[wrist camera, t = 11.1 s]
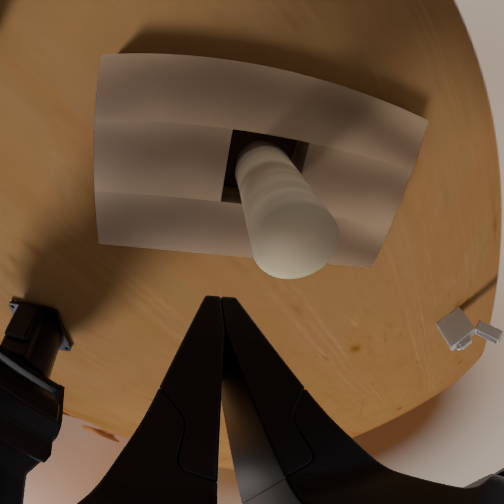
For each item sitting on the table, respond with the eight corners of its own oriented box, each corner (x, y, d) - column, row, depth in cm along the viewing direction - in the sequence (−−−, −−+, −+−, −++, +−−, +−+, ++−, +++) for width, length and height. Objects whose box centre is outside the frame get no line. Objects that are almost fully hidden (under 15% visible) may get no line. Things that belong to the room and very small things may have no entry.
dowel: (277, 186, 20) (323, 282, 12) (228, 179, 19) (243, 277, 11) (287, 140, 18) (352, 209, 10) (237, 131, 17) (260, 195, 9)
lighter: (437, 328, 34) (463, 372, 27) (435, 323, 33) (463, 368, 26) (475, 299, 32) (504, 339, 25) (474, 293, 31) (505, 334, 24)
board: (359, 249, 24) (371, 267, 22) (108, 225, 20) (98, 243, 18) (408, 113, 17) (428, 120, 15) (115, 55, 13) (100, 54, 11)
